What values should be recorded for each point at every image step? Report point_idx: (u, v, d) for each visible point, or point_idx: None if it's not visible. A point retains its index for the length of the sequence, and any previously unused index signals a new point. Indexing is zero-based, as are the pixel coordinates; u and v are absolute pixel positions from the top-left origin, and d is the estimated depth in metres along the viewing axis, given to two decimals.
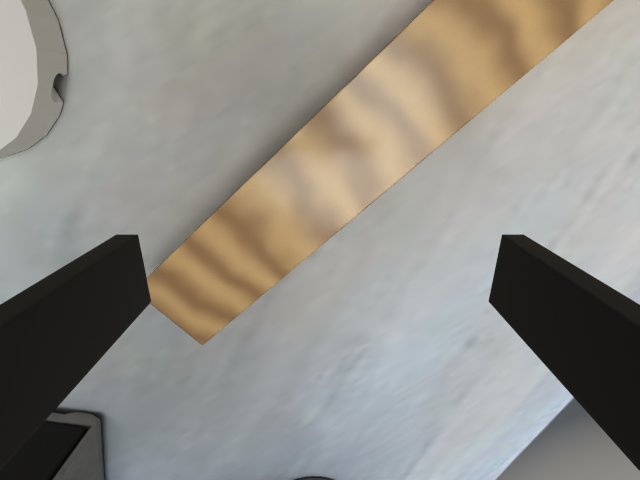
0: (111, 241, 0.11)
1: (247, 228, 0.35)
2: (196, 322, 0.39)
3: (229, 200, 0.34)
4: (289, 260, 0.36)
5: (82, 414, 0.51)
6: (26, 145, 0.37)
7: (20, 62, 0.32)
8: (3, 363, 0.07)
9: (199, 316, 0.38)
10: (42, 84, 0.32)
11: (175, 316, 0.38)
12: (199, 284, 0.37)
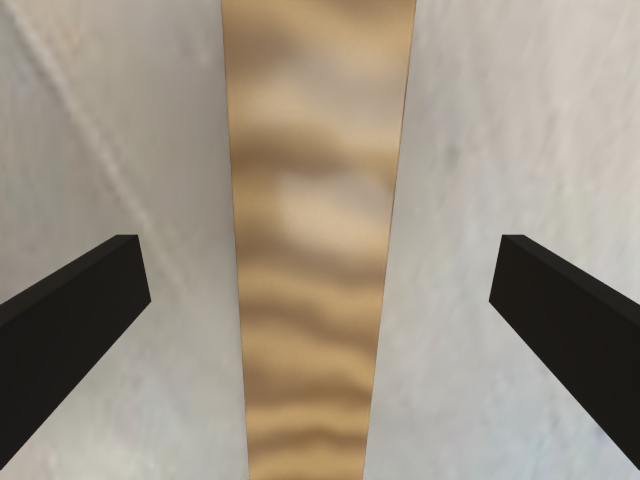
0: (111, 241, 0.11)
1: None
2: None
3: None
4: None
5: None
6: None
7: None
8: (3, 363, 0.07)
9: None
10: None
11: None
12: None
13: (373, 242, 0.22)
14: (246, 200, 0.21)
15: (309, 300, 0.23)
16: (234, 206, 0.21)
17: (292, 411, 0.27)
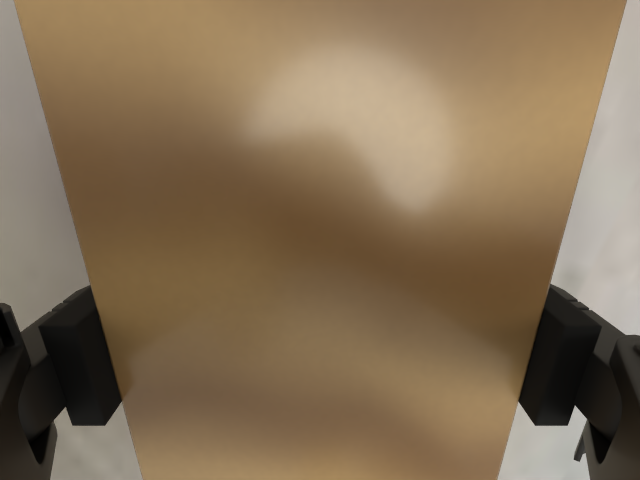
0: None
1: None
2: None
3: None
4: None
5: None
6: None
7: None
8: None
9: None
10: None
11: None
12: None
13: None
14: (170, 470, 0.09)
15: None
16: None
17: None
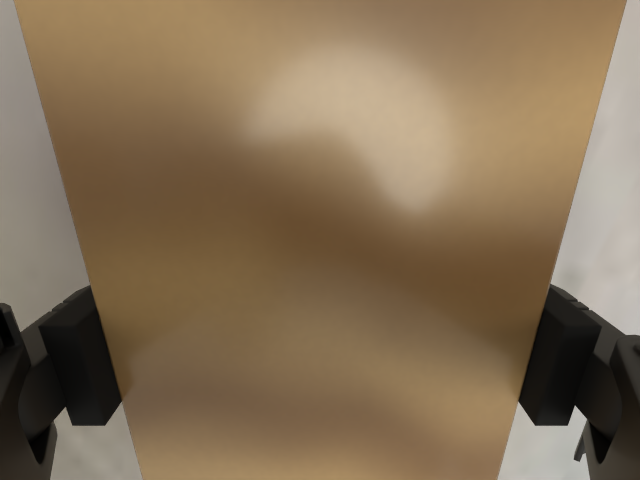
0: None
1: None
2: None
3: None
4: None
5: None
6: None
7: None
8: None
9: None
10: None
11: None
12: None
13: None
14: (170, 470, 0.09)
15: None
16: None
17: None
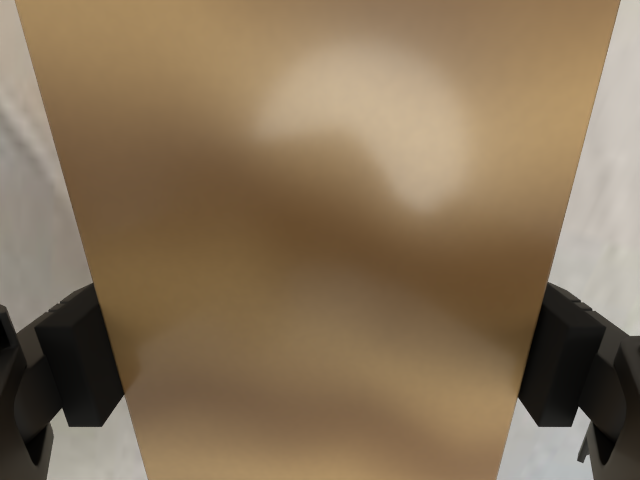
0: None
1: None
2: None
3: None
4: None
5: None
6: None
7: None
8: (103, 333, 0.08)
9: None
10: None
11: None
12: None
13: None
14: (173, 466, 0.09)
15: None
16: (148, 476, 0.10)
17: None
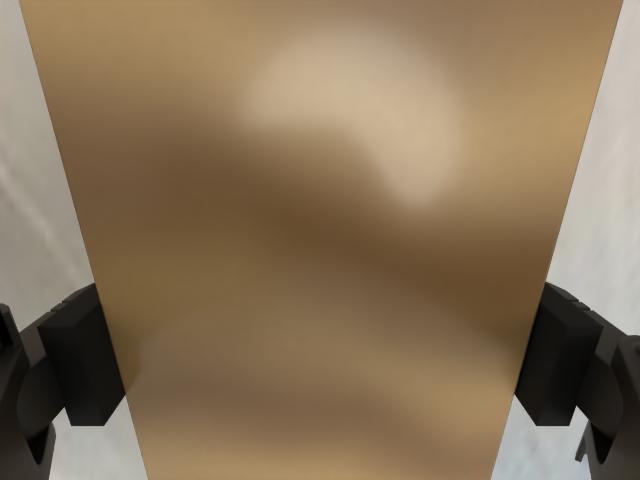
0: None
1: None
2: None
3: None
4: None
5: None
6: None
7: None
8: (105, 332, 0.08)
9: None
10: None
11: None
12: None
13: None
14: (172, 462, 0.10)
15: None
16: (148, 473, 0.10)
17: None
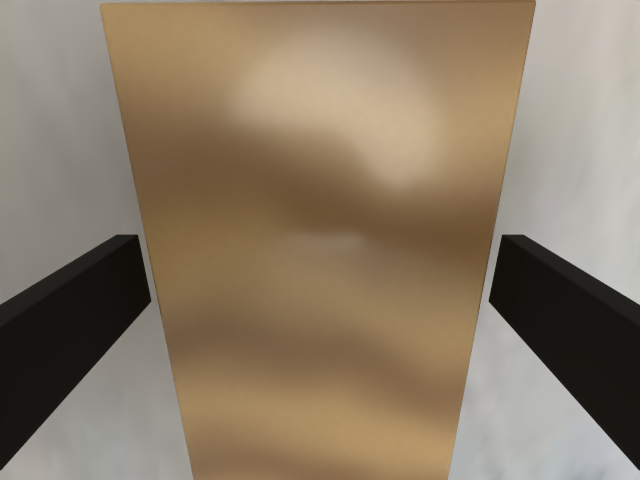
0: (111, 241, 0.11)
1: None
2: None
3: None
4: None
5: None
6: None
7: None
8: (3, 363, 0.07)
9: None
10: None
11: None
12: None
13: (426, 451, 0.13)
14: (201, 398, 0.12)
15: None
16: (181, 408, 0.12)
17: None
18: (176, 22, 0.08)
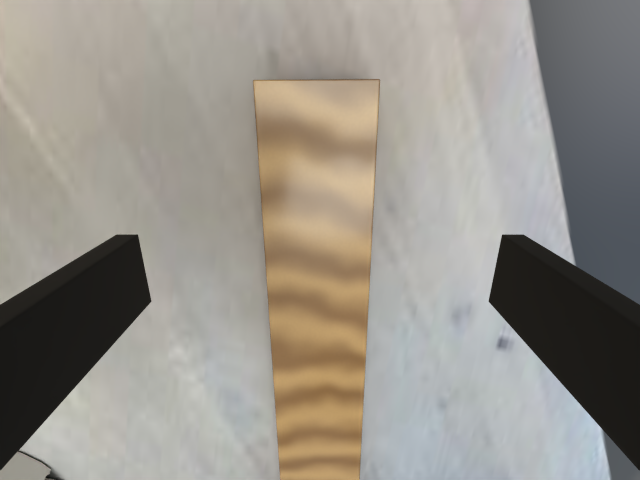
0: (111, 241, 0.11)
1: None
2: None
3: None
4: None
5: None
6: None
7: None
8: (3, 363, 0.07)
9: None
10: None
11: None
12: None
13: (360, 247, 0.31)
14: (272, 222, 0.30)
15: (317, 290, 0.33)
16: (264, 226, 0.31)
17: (307, 373, 0.36)
18: (275, 85, 0.26)
